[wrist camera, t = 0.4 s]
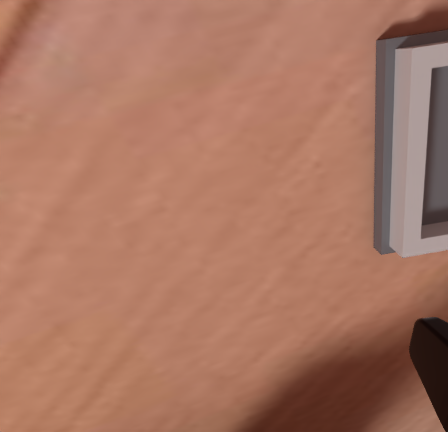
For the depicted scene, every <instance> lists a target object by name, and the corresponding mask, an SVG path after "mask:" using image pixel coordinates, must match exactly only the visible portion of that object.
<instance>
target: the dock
mask: <svg viewBox="0 0 448 432" xmlns="http://www.w3.org/2000/svg"><path fill="white" fill-rule="evenodd" d="M374 248H375V249H376V250H377V251H378V252H379V253H380V254H381V255H382V254H388V253H394V252H397V253H398V254H399V255H400V256H401V257H402V258H405V257H410V256H416V255H422V254H427V253H433V252H439V251H444V250H448V30H442V31H435V32H428V33H422V34H415V35H409V36H402V37H395V38H389V39H382V40H376V110H375V184H374Z"/></svg>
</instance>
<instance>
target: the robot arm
mask: <svg viewBox="0 0 448 432" xmlns="http://www.w3.org/2000/svg"><path fill="white" fill-rule="evenodd" d="M409 352H410V356H411V359H412V362H413V364H414V366H415V368H416V370H417V372H418V375H419V377H420V379H421V381H422V383H423V385H424V388H425V390H426V392H427V394H428V396H429V398H430V401H431V403H432V405H433V407H434V409H435V411H436V414H437V416H438V418H439V420H440V422H441V424H442V426H443V428H444V430H445V431H446V432H448V323H447V322H445V321H443V320H441V319H439V318H437V317H429V318H420V319H417V320H416V322H415V324H414V328H413V333H412V337H411V341H410V346H409Z"/></svg>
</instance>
